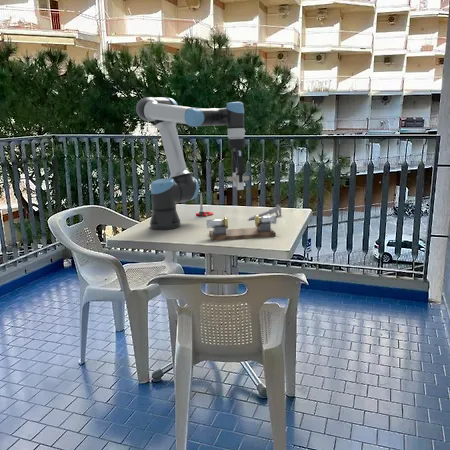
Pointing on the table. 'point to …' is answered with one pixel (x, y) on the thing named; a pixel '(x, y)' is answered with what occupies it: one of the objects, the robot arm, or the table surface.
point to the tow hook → (202, 209)
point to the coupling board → (241, 234)
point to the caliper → (269, 212)
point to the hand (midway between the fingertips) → (238, 188)
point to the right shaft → (264, 223)
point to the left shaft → (218, 226)
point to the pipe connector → (236, 178)
